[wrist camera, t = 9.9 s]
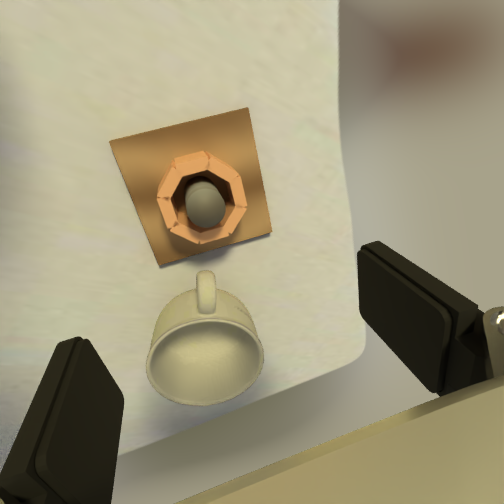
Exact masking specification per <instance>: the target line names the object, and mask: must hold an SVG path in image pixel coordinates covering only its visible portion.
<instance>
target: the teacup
mask: <svg viewBox="0 0 504 504" xmlns="http://www.w3.org/2000/svg"><path fill="white" fill-rule="evenodd" d="M196 280H197V281H196V289H194V290H190V291H187V292H185V293H182V294H181V295H179V296H177V297H175V298H174V299H173V300H171V301H170V302H169V303H168V304H167V305H166V307H165V308H164V309H163V310H162V312H161V314H160V315H159V317H158V320H157V322H156V325H155V329H154V332H153V337H152V341H151V347H150V351H149V354H148V356H147V362H146V373H147V377H148V379H149V381H150V383H151V385H152V386H153V387H154V389H155V390H156V391H157V392H158V393H159V394H160V395H162V396H163V397H165V398H167V399H169V400H171V401H173V402H176V403H180V404H185V405H191V406H208V405H213V404H218V403H222V402H225V401H228V400H231V399H233V398H234V397H236V396H238V395H240V394H241V393H243V392H244V391H245V390H247V389H248V388H249V387H250V386H251V385H252V384H253V383H254V382H255V380H256V379H257V378H258V376H259V374H260V372H261V370H262V366H263V363H264V353H263V348H262V345H261V342H260V340H259V339H258V335H257V332H256V329H255V326H254V323H253V320H252V318H251V316H250V313H249V312H248V310H247V308H246V307H245V306H244V304H243V303H242V302H241V301H240V300H239V299H238V298H236V297H235V296H233V295H232V294H230V293H228V292H226V291H223V290H219V289H216V281H215V276H214V273H213V272H212V271H200V272H198V273H197V277H196Z"/></svg>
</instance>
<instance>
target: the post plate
mask: <svg viewBox="0 0 504 504" xmlns="http://www.w3.org/2000/svg"><path fill="white" fill-rule="evenodd" d="M109 143H110V146H111V148H112V151H113V153H114V155H115V158H116V160H117V163H118V165H119V168H120V170H121V173H122V175H123V178H124V180H125V183H126V185H127V188H128V190H129V193H130V195H131V198H132V200H133V202H134V205H135V207H136V210H137V212H138V215H139V217H140V220H141V222H142V225H143V227H144V230H145V232H146V235H147V237H148V240H149V242H150V245H151V247H152V249H153V252H154V254H155V257H156V259H157V262H158V264H159V265H162V264H165V263H169V262H172V261H175V260H179V259H182V258H186V257H189V256H192V255H196V254H199V253H203V252H206V251H209V250H213V249H216V248H219V247H223V246H226V245H230V244H233V243H236V242H240V241H243V240H247V239H250V238H253V237H257V236H260V235H264V234H267V233H270V232H272V227H271V222H270V217H269V212H268V207H267V201H266V196H265V191H264V186H263V181H262V176H261V171H260V166H259V160H258V155H257V150H256V145H255V140H254V135H253V130H252V124H251V119H250V114H249V109H248V108H243V109H239V110H234V111H230V112H226V113H222V114H218V115H214V116H210V117H206V118H201V119H197V120H193V121H189V122H185V123H181V124H177V125H173V126H168V127H164V128H160V129H156V130H152V131H148V132H144V133H140V134H136V135H131V136H127V137H123V138H119V139H115V140H111V141H109ZM200 151H204V152H205V153H206V151H207V152H208V153H210V154H212V155H213V156H215V157H217V158H218V159H220V160H221V161H223V162H225V163H226V164H228V165H230V166H231V167H232V168H233V169H234V170H235V171H236V172H237V173H239V175H240V176H241V180H242V184H243V189H244V193H245V197H246V202H247V206H245V207H246V208H247V210H246V211H245V213H244V215H243V216H242V218H241V219H240V221H239V223H238V224H237V226H236V228H235V229H234V231H233V233H232V234H231V233H229V232H228V233H229V236H227V237H224V238H220V239H217V240H213V241H210V242H207V243H203V244H200V241H199V242H198V244H196V243H194V242H192V241H190V240H188V239H186V238H184V237H181V236H179V235H177V234H175V233H173V232H171V231H170V228H167V226H166V223H165V220H164V218H163V215H162V212H161V210H160V207H159V204H158V201H157V193H158V186H159V184H160V182H161V180H162V178H163V177H164V175H165V173H166V171H167V169H168V167H169V165H170V163H171V161H172V160H173V161H174V162H175V159H174V158H177V157H181V156H185V155H189V154H193V153H196V152H200ZM228 196H229V195H228V191H227V187H226V183H225V180H224V179H223V178H221V177H219V176H217V175H216V174H214V173H212V172H211V171H209V170H205V171H201V172H197V173H194V174H190V175H186V176H182V178H181V180H180V182H179V184H178V185H177V187H176V189H175V191H174V193H173V198H174V201H175V204H176V207H177V210H178V211H180V212H182V213H184V214H186V215H188V217H189V219H190V220H191V221H192V222H193V223H194V224H195V225H197V226H199V227H204V228H209V227H213V226H215V225H217V224H218V223H219V222H221V220H222V219H223V217H224V215H225V212H226V206H225V201H226V199H227V198H228Z"/></svg>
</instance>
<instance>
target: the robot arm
mask: <svg viewBox="0 0 504 504" xmlns="http://www.w3.org/2000/svg"><path fill="white" fill-rule="evenodd" d="M357 265H358V289H359V310H360V314H361V316H362V318H363V319H364V320H365V321H366V322H367V324H368V325H369V326H370V327H371V328H372V329H373V330H374V331H375V332H376V333H377V334H378V336H379V337H380V338H381V339H382V340H383V341H384V342H385V343H386V344H387V345H388V347H389V348H390V349H391V350H392V351H393V352H394V353H395V354H396V355H397V356H398V358H399V359H400V360H401V361H402V362H403V363H404V364H405V365H406V366H407V367H408V368H409V370H410V371H411V372H412V373H413V374H414V375H415V376H416V377H417V378H418V379H419V380H420V382H421V383H422V384H423V385H424V386H425V387H426V388H427V389H428V390H429V391H430V392H432V393H437V394H438V395H439V396H440V397H439V398H436V399H434V400H431V401H429V402H426V403H423V404H421V405H418V406H415V407H413V408H411V409H408V410H405V411H403V412H400V413H398V414H395V415H393V416H390V417H388V418H385V419H383V420H380V421H378V422H375V423H373V424H370V425H368V426H365V427H363V428H360V429H357V430H355V431H352V432H350V433H347V434H345V435H342V436H340V437H337V438H335V439H332V440H330V441H328V442H325V443H323V444H320V445H318V446H316V447H313V448H310V449H308V450H305V451H303V452H300V453H298V454H295V455H293V456H291V457H288V458H285V459H283V460H280V461H278V462H276V463H273V464H270V465H268V466H266V467H263V468H261V469H258V470H256V471H253V472H251V473H248V474H246V475H243V476H241V477H238V478H236V479H233V480H231V481H228V482H226V483H224V484H221V485H219V486H216V487H214V488H211V489H209V490H207V491H204V492H202V493H199V494H197V495H194V496H192V497H190V498H187V499H184V500H182V501H180V502H177V503H175V504H504V307H503V306H501V307H495V308H492V309H490V310H488V311H486V312H485V313H484V312H482V311H481V310H479V309H478V305H477V304H475V303H474V302H472V301H471V300H469V299H468V298H466V297H465V296H463V295H461V294H460V293H458V292H457V291H455V290H454V289H452V288H451V287H449V286H448V285H446V284H445V283H443V282H441V281H440V280H438V279H437V278H435V277H434V276H432V275H431V274H429V273H428V272H426V271H425V270H423V269H422V268H420V267H418V266H417V265H415V264H414V263H412V262H411V261H409V260H408V259H406V258H405V257H403V256H402V255H400V254H398V253H397V252H395V251H394V250H392V249H391V248H389V247H388V246H386V245H385V244H383V243H381V242H380V241H375V242H372V243H369V244H365V245H363V246H362V247H361V250H360V251H358V253H357ZM123 409H124V397H123V394H122V392H121V390H120V388H119V387H118V385H117V384H116V382H115V380H114V379H113V377H112V376H111V374H110V372H109V371H108V369H107V368H106V366H105V364H104V363H103V361H102V360H101V358H100V357H99V355H98V353H97V352H96V350H95V349H94V347H93V345H92V344H91V342H90V341H89V340H88V339H82V338H81V337H75V338H71V339H68V340H65V341H62V342H60V343H58V344H57V346H56V348H55V350H54V353H53V355H52V357H51V360H50V362H49V364H48V366H47V369H46V371H45V373H44V375H43V378H42V380H41V382H40V385H39V387H38V389H37V391H36V394H35V396H34V398H33V400H32V403H31V405H30V407H29V410H28V412H27V414H26V416H25V419H24V421H23V423H22V425H21V428H20V430H19V432H18V435H17V437H16V439H15V441H14V444H13V446H12V448H11V451H10V453H9V455H8V457H7V460H6V462H5V464H4V466H3V469H2V471H1V473H0V504H111V500H112V492H113V485H114V477H115V469H116V462H117V454H118V447H119V439H120V432H121V424H122V417H123Z"/></svg>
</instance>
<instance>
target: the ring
mask: <svg viewBox="0 0 504 504" xmlns="http://www.w3.org/2000/svg"><path fill="white" fill-rule="evenodd" d="M174 159H175V162H174V161H173V160H172V161H171V163H170V165H169V167H168V169H167V171H166V173H165V175H164V177H163V178H162V180H161V182H160V184H159V186H158V193H157V201H158V204H159V207H160V210H161V212H162V215H163V218H164V220H165V223H166V226H167V228H170V231H171V232H173V233H175V234H177V235H179V236H181V237H184V238H186V239H188V240H190V241H192V242H194V243H196V244H198V242H199V241H200V244H203V243H207V242H210V241H213V240H217V239H220V238H224V237H227V236H229V233H231V234H232V233H233V231H234V229H235V228H236V226H237V224H238V223H239V221H240V219H241V218H242V216H243V215H244V213H245V211H246V210H247V208H246V207H245V206H247V202H246V197H245V193H244V189H243V184H242V180H241V176H240V175H239V173H237V172H236V171H235V170H234V169H233V168H232V167H231V166H230V165H228V164H226V163H225V162H223V161H221V160H220V159H218V158H217V157H215V156H213V155H212V154H210V153H208V152H207V151H206V153H205V152H204V151H200V152H196V153H193V154H189V155H185V156H181V157H177V158H174ZM205 170H209V171H211V172H212V173H214V174H216V175H217V176H219V177H221V178H223V179H224V180H225V183H226V187H227V191H228V195H229V196H228V198H227V199H226V201H225V206H226V212H225V215H224V217H223V219H222V220H221V222H219V223H218V224H217V225H215V226H213V227H209V228H204V227H199V226H197V225H195V224H194V223H193V222H192V221H191V220H190V219H189V217H188V215H186V214H184V213H182V212H180V211H178V210H177V207H176V204H175V201H174V198H173V193H174V191H175V189H176V187H177V185H178V184H179V182H180V180H181V178H182V176H186V175H190V174H194V173H197V172H201V171H205ZM228 232H229V233H228Z"/></svg>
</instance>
